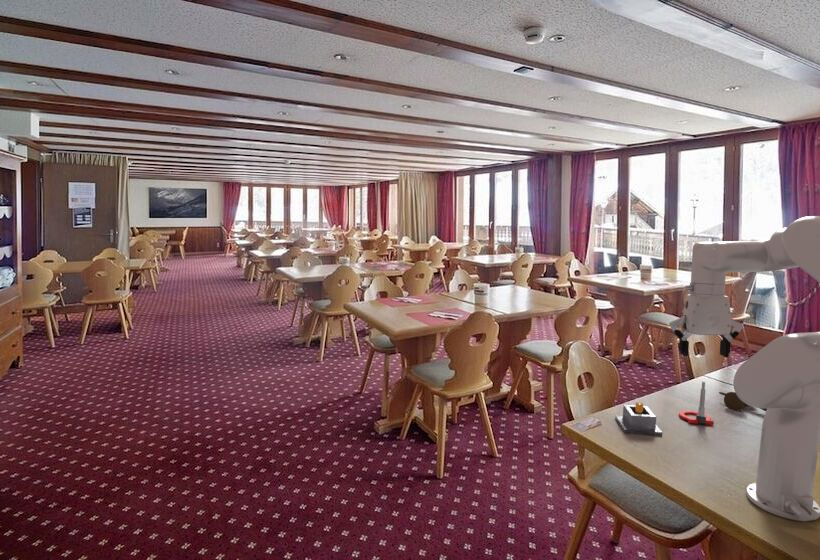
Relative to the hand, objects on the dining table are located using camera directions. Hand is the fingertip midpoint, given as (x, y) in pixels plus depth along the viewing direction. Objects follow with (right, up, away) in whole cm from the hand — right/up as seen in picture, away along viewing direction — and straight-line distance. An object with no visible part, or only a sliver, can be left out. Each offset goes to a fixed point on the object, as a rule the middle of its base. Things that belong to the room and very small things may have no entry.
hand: (704, 355), depth 125 cm
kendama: (+32, -22, +28) cm, 48 cm away
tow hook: (+10, -23, +21) cm, 33 cm away
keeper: (-10, -23, +16) cm, 30 cm away
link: (-10, -22, +15) cm, 29 cm away
